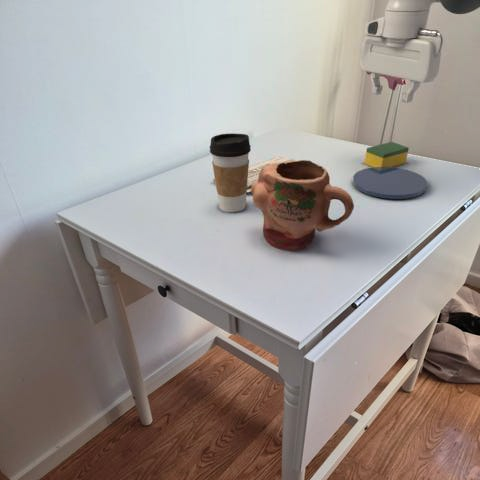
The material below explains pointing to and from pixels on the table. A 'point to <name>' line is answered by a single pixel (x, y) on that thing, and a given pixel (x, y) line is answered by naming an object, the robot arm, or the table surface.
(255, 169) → the newspaper
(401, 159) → the sponge
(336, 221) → the sculpted ceramic mug
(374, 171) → the plate
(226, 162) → the coffee cup
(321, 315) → the table surface
